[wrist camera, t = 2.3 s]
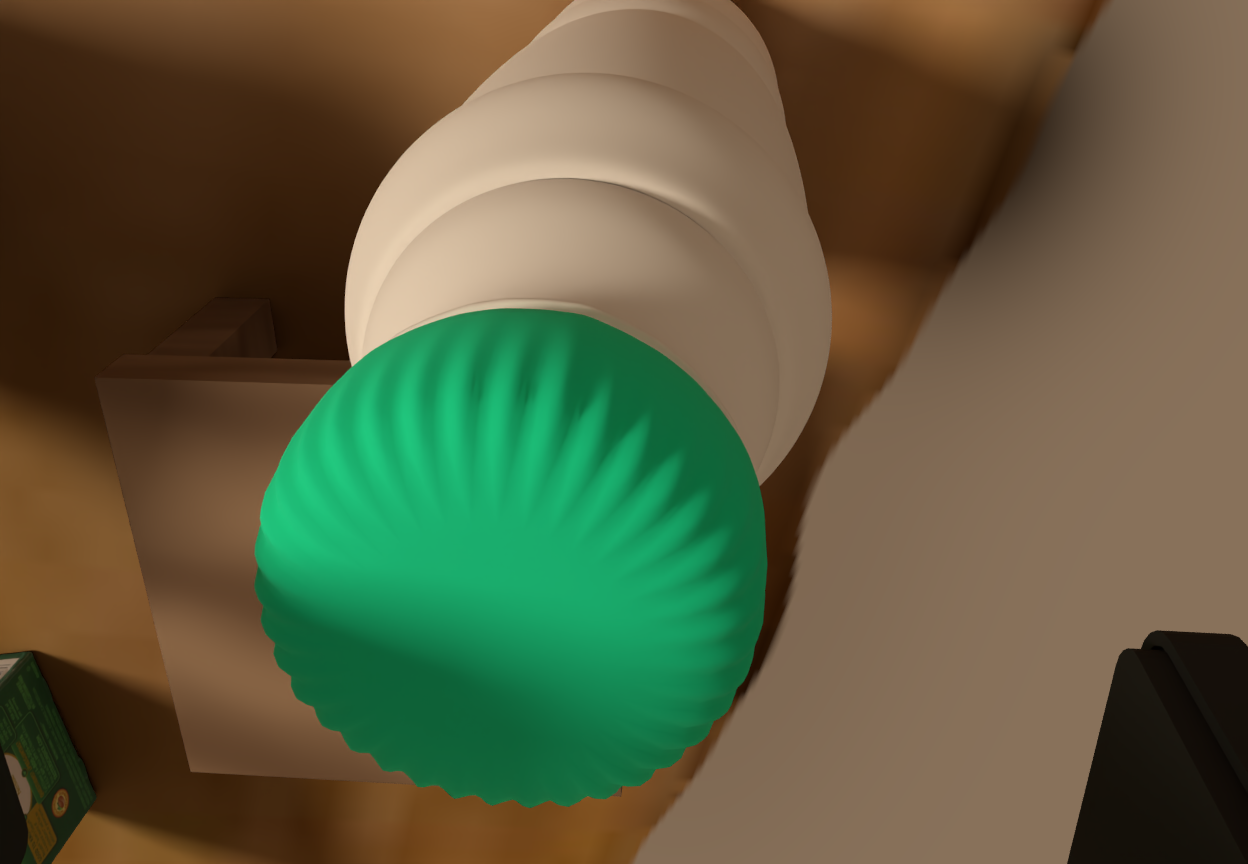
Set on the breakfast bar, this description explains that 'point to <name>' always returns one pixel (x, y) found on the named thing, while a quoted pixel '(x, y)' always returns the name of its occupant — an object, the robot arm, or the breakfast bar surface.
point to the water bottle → (557, 416)
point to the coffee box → (40, 759)
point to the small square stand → (220, 533)
